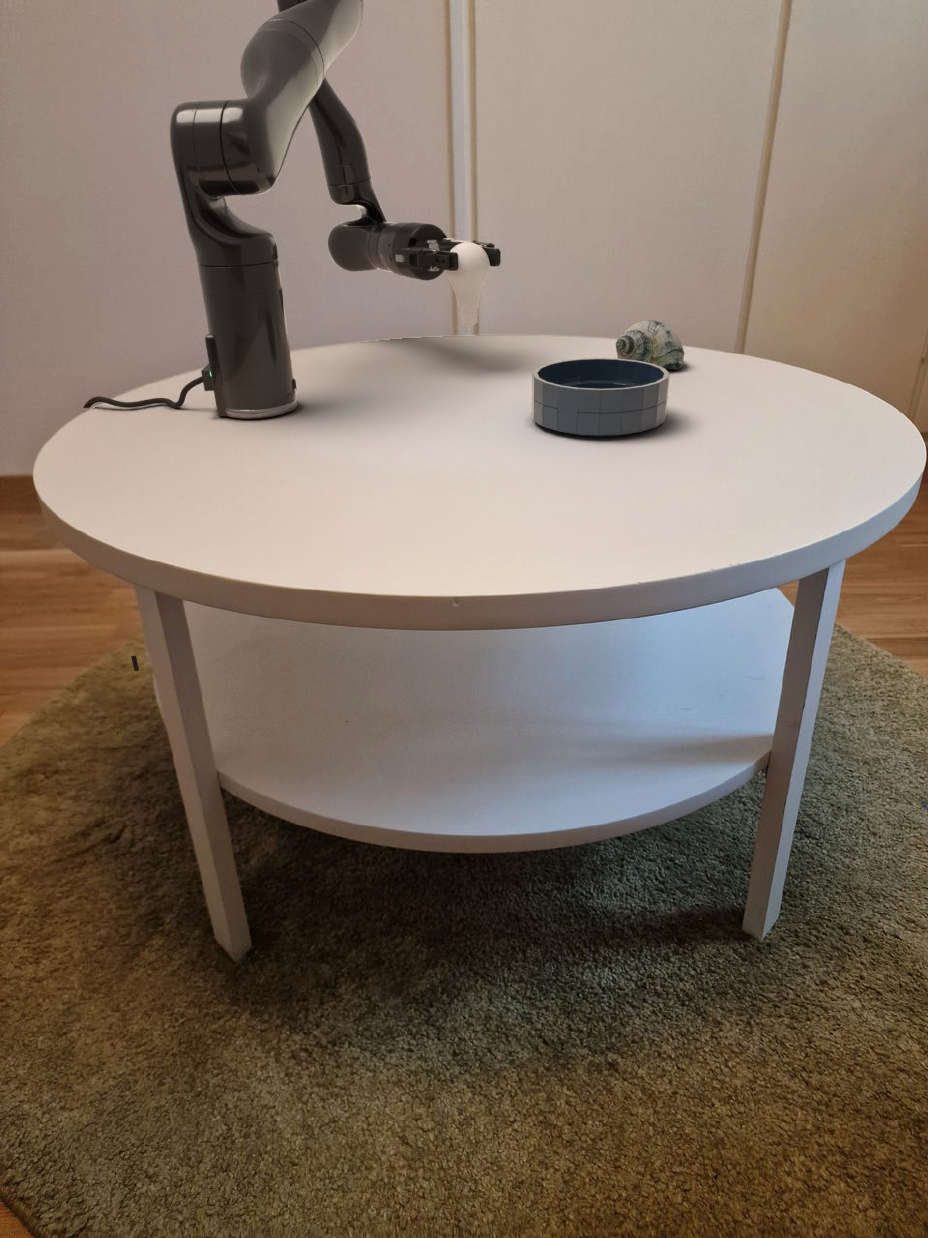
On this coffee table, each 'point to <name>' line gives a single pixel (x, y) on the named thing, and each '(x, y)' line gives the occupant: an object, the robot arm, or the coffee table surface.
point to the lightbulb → (469, 280)
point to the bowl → (599, 396)
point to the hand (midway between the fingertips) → (477, 259)
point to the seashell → (651, 345)
